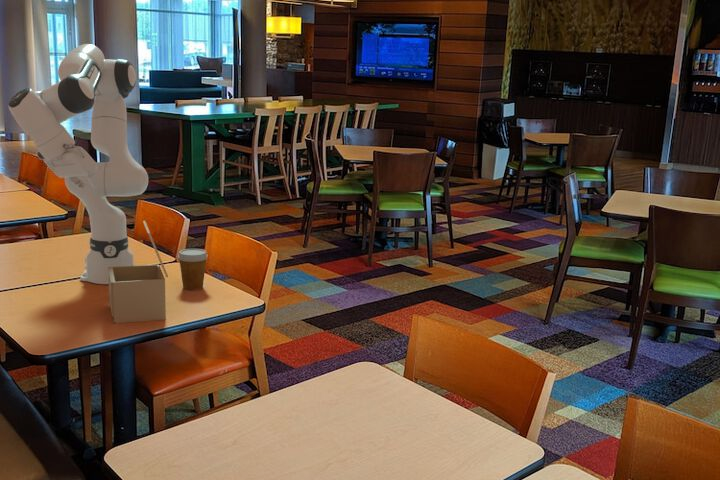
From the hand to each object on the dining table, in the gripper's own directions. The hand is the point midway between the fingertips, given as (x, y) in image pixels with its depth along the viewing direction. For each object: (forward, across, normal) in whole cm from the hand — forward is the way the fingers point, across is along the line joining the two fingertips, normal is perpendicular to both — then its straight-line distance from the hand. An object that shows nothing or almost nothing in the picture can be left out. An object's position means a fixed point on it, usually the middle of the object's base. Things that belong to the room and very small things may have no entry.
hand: (89, 186), depth 208 cm
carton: (+38, +1, +12) cm, 39 cm away
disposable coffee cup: (+50, +12, -11) cm, 53 cm away
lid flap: (+25, -4, -2) cm, 25 cm away
